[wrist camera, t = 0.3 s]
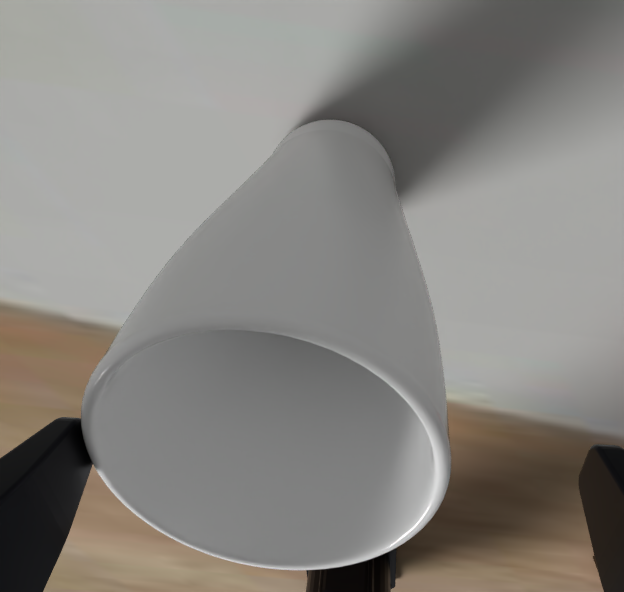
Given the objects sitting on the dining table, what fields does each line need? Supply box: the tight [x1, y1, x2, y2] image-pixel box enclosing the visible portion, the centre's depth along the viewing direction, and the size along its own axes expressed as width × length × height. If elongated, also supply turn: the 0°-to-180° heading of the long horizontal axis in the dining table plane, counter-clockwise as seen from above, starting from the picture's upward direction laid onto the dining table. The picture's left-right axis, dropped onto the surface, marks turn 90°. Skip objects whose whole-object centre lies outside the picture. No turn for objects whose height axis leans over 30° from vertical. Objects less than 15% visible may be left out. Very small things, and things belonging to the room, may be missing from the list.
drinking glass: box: [81, 119, 451, 570], centre depth 15 cm, size 7×7×15 cm
